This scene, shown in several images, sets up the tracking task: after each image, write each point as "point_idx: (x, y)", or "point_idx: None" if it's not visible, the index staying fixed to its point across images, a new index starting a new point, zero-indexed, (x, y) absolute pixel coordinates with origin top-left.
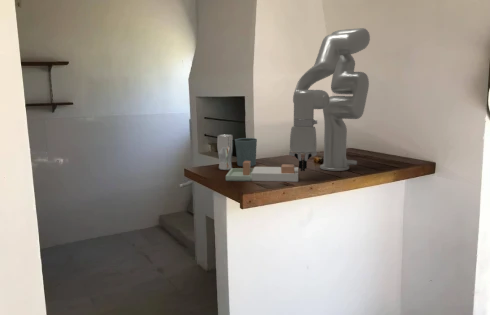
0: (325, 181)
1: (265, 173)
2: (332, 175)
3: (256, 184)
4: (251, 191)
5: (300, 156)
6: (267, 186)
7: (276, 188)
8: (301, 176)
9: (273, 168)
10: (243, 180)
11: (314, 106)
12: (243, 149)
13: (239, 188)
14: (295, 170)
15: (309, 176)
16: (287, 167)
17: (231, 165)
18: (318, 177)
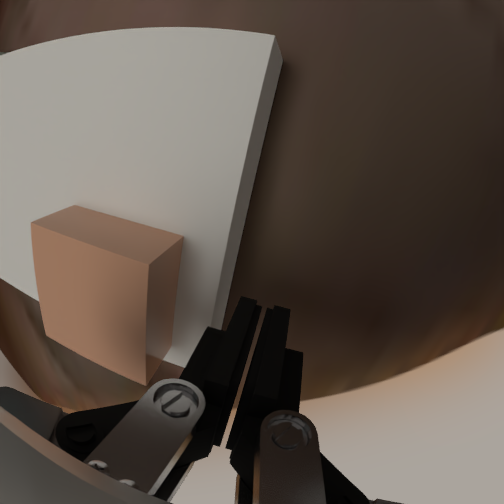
0: (415, 360)
1: (10, 283)
2: None
3: (28, 316)
4: (47, 392)
5: (167, 490)
6: (70, 363)
7: (108, 402)
8: (297, 151)
9: (32, 108)
10: None
11: None
12: None
13: (8, 346)
14: (198, 224)
15: (376, 168)
16: (90, 354)
17: None
18: (436, 230)
